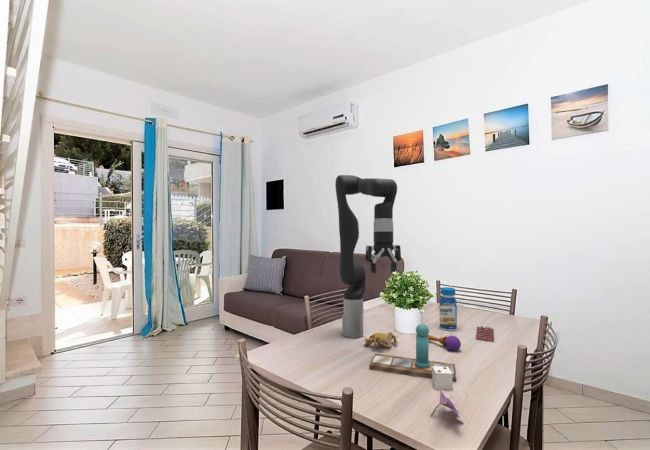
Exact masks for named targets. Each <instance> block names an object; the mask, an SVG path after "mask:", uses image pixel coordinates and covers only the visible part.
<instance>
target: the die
mask: <svg viewBox="0 0 650 450" xmlns="http://www.w3.org/2000/svg"><path fill="white" fill-rule="evenodd" d="M432 373H433V374H432V380H431V382H432V384H433V386H434V387H435V389H436V390H440V389H439V388H440V385H441V388H442V390H453V389H454V388H453V387H454V385H453V383H454V382H453V374H452V372H451V371H450V369H449V368H448V367H443V366H432ZM434 376H435V377H436V378H435V377H434ZM436 379H437V380H438V381H439V383H440V385H439V383H438V381H437V380H436Z"/></svg>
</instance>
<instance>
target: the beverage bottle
mask: <svg viewBox="0 0 650 450" xmlns="http://www.w3.org/2000/svg"><path fill="white" fill-rule="evenodd" d="M440 295H441V297H440V298H439V301H438V302H439V305H438V308H439V328H440V329H441V330H443V331H448V332H449V331H450V332H451V331H452V332H453V331H457V329H458V306H457V304H458V301H457V299H456V297H455V296H456V288H454V287H450V286H449V287H448V286H445V287H444V286H443V287H440Z"/></svg>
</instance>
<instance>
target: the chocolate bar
mask: <svg viewBox="0 0 650 450" xmlns="http://www.w3.org/2000/svg"><path fill="white" fill-rule="evenodd" d="M475 333H476V335H475V341H483V342H490V343H495V338H494V337H495V336H494V335H495V333H494V328H491V326H485V327H484V326H483V325H480V326H476V332H475Z"/></svg>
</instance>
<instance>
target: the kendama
mask: <svg viewBox="0 0 650 450" xmlns="http://www.w3.org/2000/svg"><path fill="white" fill-rule="evenodd" d="M428 336H429V341H432V342H438V343H440V344H441V346H443V347H445V348H447V349H448V350H449V351H453V352H456V351H459V349H460V348H461V347H462V344H461V343H462V342H461V341H460V339H459V337H457V336H455V335H449V336H447V335H446V336H442V337H440V338H438V337H435V336H432V335H430V334H428Z"/></svg>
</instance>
